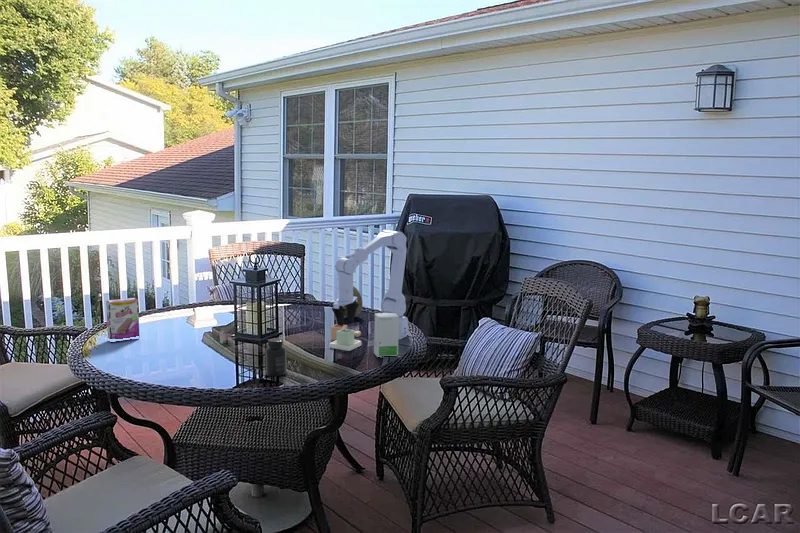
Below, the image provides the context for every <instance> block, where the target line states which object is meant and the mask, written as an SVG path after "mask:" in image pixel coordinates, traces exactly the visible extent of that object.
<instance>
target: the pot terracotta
mask: <svg viewBox="0 0 800 533" xmlns="http://www.w3.org/2000/svg"><path fill="white" fill-rule="evenodd" d="M341 329H348V325H347V324H343V326H340V325H338V323H336V324H333V325H332V326H331V327H330V341H336V340H337V331H339V330H341Z"/></svg>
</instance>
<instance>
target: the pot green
mask: <svg viewBox="0 0 800 533" xmlns="http://www.w3.org/2000/svg"><path fill="white" fill-rule="evenodd" d="M354 331H355V330H354V329H348V328H347V329H341V330H339V331H337V344H341V345H347V346H350V345H352V344H354V340H355V337H354Z"/></svg>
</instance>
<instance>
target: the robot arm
mask: <svg viewBox="0 0 800 533" xmlns="http://www.w3.org/2000/svg"><path fill="white" fill-rule="evenodd" d="M382 247H386V248H387V249H389V251H390V252H391V253H392V259H391V268H390V273H389V274H390V275H389V283H388V289H387V290H388V291H387V292H386V293H384V294H383V299H382V301H381V303H380V309H381V311H382V313H395V314H397V315H398V316H399V339H398V340H402V339H404V338H406V337H408V336H409V335H408V334H409V318H408V317H407V316H404V314H405V313H406V310H407V304H406V299H407V298H406V296H405V295H404V294H403V292H402V291H403V286H404V285H403V282H404V276H405V275H404V274H405V267H406V261H407V260H406V258H407V251H408V250H407V237H406V235H405V233H403V231H395V230H388V229H383V230H382V231H381V232H379V233H378V234H377V235H376V237H374V238H373V239H372V240H371V241H370V242H369V243H367V244H366V245H365V246H364V247H361V246H358V247H355V248H354V250H353V251H351V252H349V253H347V254H346V255H345V257H340V258H338V259H337V261H336V263H335V265H334V268H335V270H336V272H337V278H338V279H337V280H338V281H337V282H338V283H337V284H338V285H337V287H338V288H337V290H338V294H337V295H338V296H337V297H338V298H337V299H335V302H333V306H332V307H331V310H332V312H333V314H334V317H335V319H336V324H338V325H340V326H343V325H345V317H346V316H345V312H346V310H347V317H346V318H347V321H348V322H352V323H353V322H354V320H355V313H356V310H357V308H358V306H359V303H356V302H357V297H353V286H354V274H355V272H356V270H357V268H358V266H360V265H361V264H363V263H365V261H367V260H368V259H369V255H371V254H372V253H373V252H376V251H377V250H378V249H380V248H382ZM342 306H346V309H344V308H342ZM407 335H408V336H407Z"/></svg>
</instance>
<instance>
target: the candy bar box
mask: <svg viewBox="0 0 800 533" xmlns="http://www.w3.org/2000/svg"><path fill="white" fill-rule="evenodd" d="M105 305H106V308H105V309H106V326H107V328H106V329H107V339H108V338H109V339H123V338H130V337H136V336H139V337H140V321H139V318H140V317H139V300H138V298H136V297H130V298H120V299H107V300H106V301H105Z"/></svg>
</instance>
